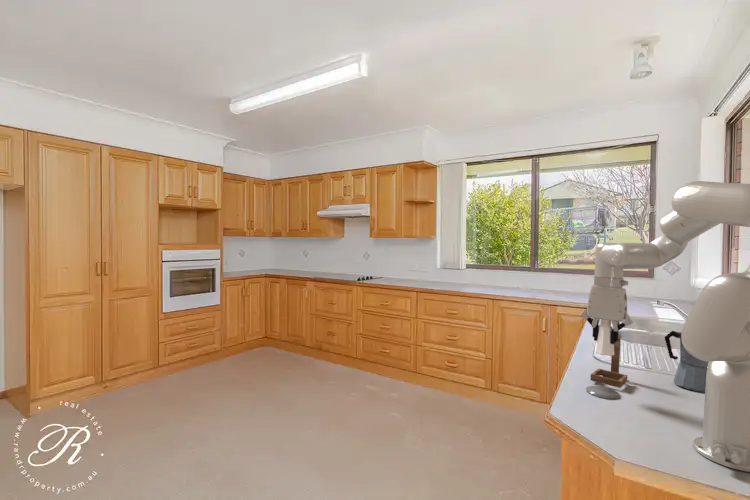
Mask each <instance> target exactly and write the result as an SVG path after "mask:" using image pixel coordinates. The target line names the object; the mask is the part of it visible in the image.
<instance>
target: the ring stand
mask: <svg viewBox="0 0 750 500" xmlns="http://www.w3.org/2000/svg"><path fill="white" fill-rule="evenodd" d="M621 337H622V335H621V334H620V332H619V333H618V341H616V343H615V344H614V355H612V356H610V358H611V359H610V370H606V369H603V368H597V369H596V370H594V371H593V372H592V373H590V381H592V382H596V383H600V384H604V385H608V386H611V387H614V388H618V389H621V388H622V387H623V386H624V385H625V384H626V383H627V382H628V375H627V374H623V373H620V360H621V340H622V339H621Z"/></svg>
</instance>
